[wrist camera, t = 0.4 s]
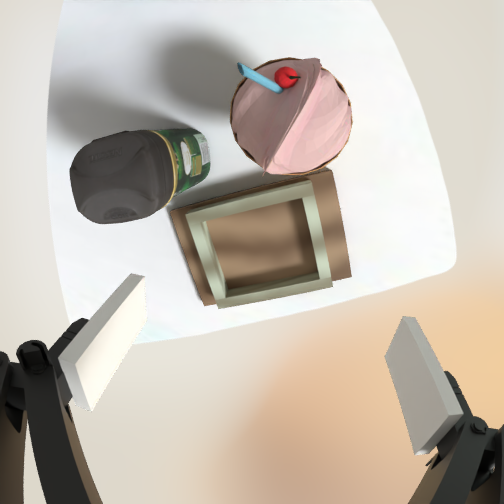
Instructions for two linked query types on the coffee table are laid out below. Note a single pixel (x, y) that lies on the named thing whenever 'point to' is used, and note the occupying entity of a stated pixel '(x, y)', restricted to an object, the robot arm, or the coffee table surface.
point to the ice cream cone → (290, 115)
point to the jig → (265, 241)
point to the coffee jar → (136, 172)
